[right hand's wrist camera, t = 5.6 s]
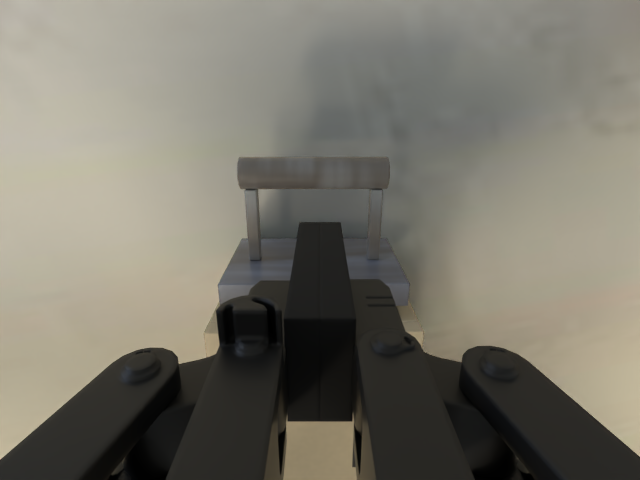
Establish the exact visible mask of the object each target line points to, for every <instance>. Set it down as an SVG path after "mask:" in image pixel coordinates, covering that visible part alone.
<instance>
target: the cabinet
mask: <svg viewBox="0 0 640 480" xmlns="http://www.w3.org/2000/svg"><path fill="white" fill-rule="evenodd" d="M219 306H220V301H219V303H218V305H217V307H216V309H215V311H214V314H213V316H212V318H211V320H210V322H209V324H208V326H207V328H206V330H205V332H204V339H205V347H206V355H207V357H210V356H212V355H214V354H216V353H217V350H218V348H219V336H218V327H217V317H216V310H217V309H218V307H219ZM396 307H397V309H398V312H399V315H400V317H401V320H402V323H403V326H404V328H405V331H406V332H407V333H409V334H410V335H412V336H414V337H415V338H416V339H417V341H418V342H419V343H420V345H421V347H422V345H423V336H424V331H423V329H422V327H421V325H420V322H419V321H418V319H417V317H416V314H415V312H414V310H413V308H412V306H411V304H410V301H409V299H408V306H396ZM286 433H287V445H286V456H285V466H284V477H283V480H357V477H356V467H352V459H353V433H354V418H353V421H352V422H288V421H287V420H286Z"/></svg>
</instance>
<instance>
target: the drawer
mask: <svg viewBox="0 0 640 480" xmlns="http://www.w3.org/2000/svg"><path fill="white" fill-rule="evenodd" d="M237 176H238V183H239V187H240V189H246V190H245V203H246V218H247V232H248V239H242V240H241V242H240V244H239V245H238V247H237V249H236V251H235V253H234V255H233V257H232V259H231V261H230V263H229V264H228V266H227V268H226V270H225V272H224V274H223V276H222V278H221V280H220V282H219V283H218V291H219V301H220V305H221V304H222V303H224V302H226V301H228V300H230V299H232V298H236V297H239V296H245V295H249V292H250V289H251V288H252V287H253V286H254V285H256V284H257V283H258V282H259V281H261V280H290V277H291V271H292V265H293V259H294V253H295V247H296V241H297V238H288V239H261V234H260V216H259V198H258V189H370V193H369V215H368V237H367V238H343V241H344V247H345V253H346V259H347V265H348V271H349V277H350V279H380V280H381V281H382V282H384V283H385V284H386V285H387V286H389V287H390V290H391V293H392V296H393V299H394V301H395V304H396V306H408V299H409V287H410V283H409V281H408V279H407V277H406V275H405V273H404V271H403V269H402V267H401V266H400V264H399V262H398V260H397V258H396V256H395V254H394V252H393V250H392V248H391V246H390V244H389V242H388V240H387V238H380V232H381V214H382V197H383V190H382V189H386V188H387V187H388V184H389V178H390V164H389V159H388V157H240V158H239V160H238V165H237Z"/></svg>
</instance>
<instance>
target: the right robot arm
mask: <svg viewBox="0 0 640 480" xmlns="http://www.w3.org/2000/svg"><path fill="white" fill-rule="evenodd" d="M216 317H217V327H218V336H219V348H218V350H217V353H216V354H214V355H212V356H210V357H207V358H204V359H200V360H196V361H192V362H187V363H182V364H178V357H177V356H176V355H175V354H174V353H173V352H172V351H170V350H167V349H164V348H146V349H140V350H136V351H134V352H132V353H129V354H127V355H124V356H122V357H121V358H119V359H118V360H116V361H115V362H113V363H112V364H111V365H110V366H108V367H107V368H106V369H105V370H104V371H103V372H101V373H100V374H99V375H98V376H97V377H96V378H95V379H93V380H92V381H91V382H90V383H89V384H88V385H86V386H85V387H84V388H83V389H82V390H81V391H79V392H78V393H77V394H76V395H75V396H74V397H73V398H71V399H70V400H69V401H68V402H67V403H66V404H64V405H63V406H62V407H61V408H60V409H59V410H57V411H56V412H55V413H54V414H53V415H52V416H51V417H49V418H48V419H47V420H46V421H45V422H44V423H42V424H41V425H40V426H39V427H38V428H37V429H36V430H34V431H33V432H32V433H31V434H30V435H29V436H27V437H26V438H25V439H24V440H23V441H22V442H20V443H19V444H18V445H17V446H16V447H15V448H14V449H12V450H11V451H10V452H9V453H8V454H7V455H5V456H4V457H3V458H2V459H1V460H0V480H283V477H284V466H285V456H286V445H287V433H286V420H287V421H288V422H352V421H353V418H354V433H353V459H352V467H356V477H357V480H640V457H639V456H638V455H637V454H636V453H635V452H633V451H632V450H631V449H630V448H629V447H628V446H626V445H625V444H624V443H623V442H622V441H621V440H619V439H618V438H617V437H616V436H615V435H614V434H612V433H611V432H610V431H609V430H608V429H607V428H605V427H604V426H603V425H602V424H601V423H600V422H598V421H597V420H596V419H595V418H594V417H593V416H591V415H590V414H589V413H588V412H587V411H586V410H584V409H583V408H582V407H581V406H580V405H579V404H577V403H576V402H575V401H574V400H573V399H572V398H570V397H569V396H568V395H567V394H566V393H565V392H563V391H562V390H561V389H560V388H559V387H558V386H556V385H555V384H554V383H553V382H552V381H551V380H549V379H548V378H547V377H546V376H545V375H544V374H542V373H541V372H540V371H539V370H538V369H537V368H535V367H534V366H533V365H532V364H531V363H530V362H528V361H527V360H525V359H524V358H522V357H521V356H519V355H518V354H516V353H513V352H511V351H508V350H506V349H503V348H499V347H493V346H477V347H474V348H471V349H468V350H467V351H466V352H465V353H464V355H463V357H462V362H457V361H452V360H447V359H442V358H439V357H435V356H432V355H429V354H427V353H425V352H423V350H422V347H421V345H420V343H419V342H418V341H417V339H416V338H415V337H414V336H412V335H410V334H409V333H407V332H406V331H405V328H404V326H403V323H402V320H401V317H400V315H399V312H398V309H397V307H396V304H395V301H394V299H393V296H392V293H391V290H390V287H389V286H387V285H386V284H385V283H384V282H382V281H381V280H380V279H350V277H349V271H348V265H347V259H346V253H345V247H344V241H343V235H342V229H341V222H299V229H298V235H297V241H296V247H295V253H294V259H293V265H292V271H291V277H290V280H261V281H259V282H258V283H257V284H256V285H254V286H253V287H252V288H251V289H250V292H249V295H245V296H239V297H236V298H232V299H230V300H228V301H226V302H224V303H222V304H221V305H220V306H219V307H218V309H217V310H216Z"/></svg>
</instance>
